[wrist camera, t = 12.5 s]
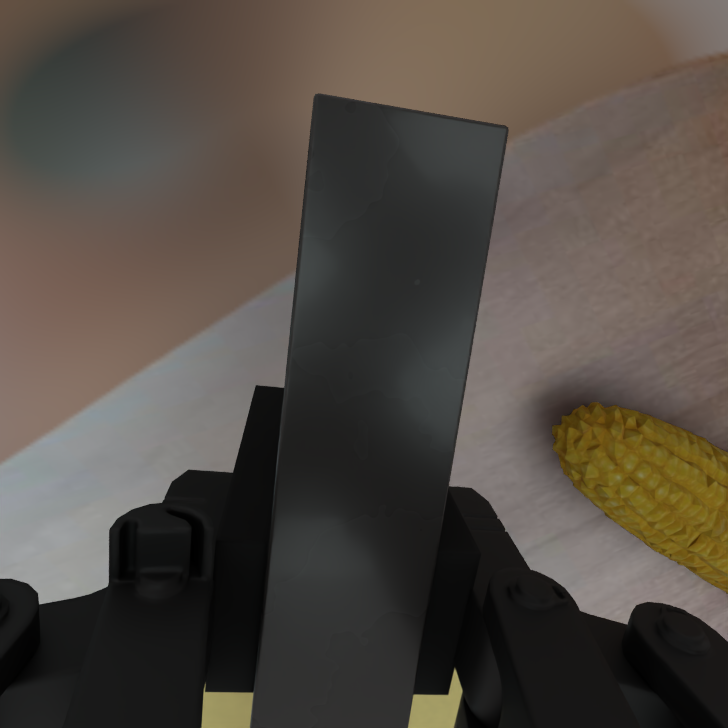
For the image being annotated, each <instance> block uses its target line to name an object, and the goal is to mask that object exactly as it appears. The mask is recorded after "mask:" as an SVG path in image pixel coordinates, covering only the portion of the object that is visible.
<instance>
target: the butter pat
mask: <svg viewBox="0 0 728 728" xmlns="http://www.w3.org/2000/svg"><path fill="white" fill-rule="evenodd" d="M205 683H206V682H205ZM252 701H253V693H235V692H205V687H204V695H203V711H202V727H201V728H250V721H251V711H252Z"/></svg>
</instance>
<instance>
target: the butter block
mask: <svg viewBox="0 0 728 728" xmlns="http://www.w3.org/2000/svg"><path fill="white" fill-rule="evenodd" d="M461 695H462V687H461V684H460V681H459V678H458V675H457V672H456V669H454V673H453V677H452V681H451V686H450V690H449V694H448V695H413V701H412V707H411V713H410V719H409V725H408V728H454V724H455V720H456V716H457V712H458V708H459V704H460V699H461Z"/></svg>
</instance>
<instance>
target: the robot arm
mask: <svg viewBox="0 0 728 728" xmlns="http://www.w3.org/2000/svg"><path fill="white" fill-rule="evenodd" d="M283 396H284V388H279V387H268V386H258V385H256V387H255V391H254V394H253V398H252V402H251V406H250V410H249V414H248V417H247V421H246V425H245V429H244V433H243V437H242V440H241V444H240V448H239V452H238V456H237V460H236V464H235V467H234V471H233V473H228V472H214V471H200V470H188V471H186V472H185V473H183V474H182V475H181V476H179V477H178V478H177V479H175V480H174V481H172V483H171V485H170V487H169V489H168V491H167V494H166V496H165V500H163V502H162V503H157V504H149V505H146V506H142V507H139V508H136V509H133V510H131V511H129V512H127V513H126V514H124V515H123V516H121V517H119V518H118V519H117V520H116V521H115V523H114V524H113V526H112V527H111V528H110V530H109V584H108V587H106V588H104V589H102V590H99V591H97V592H94V593H92V594H89V595H85V596H81V597H77V598H73V599H67V600H62V601H56V602H51V603H45V604H40V605H39V601H38V593H37V592H36V591H35V590H34V589H33V588H32V587H31V586H30V585H29V584H27V583H24V582H20V581H17V580H13V579H0V728H201V727H202V711H203V695H204V687H205V692H235V693H253V691H254V682H255V672H256V662H257V652H258V642H259V632H260V622H261V613H262V603H263V593H264V583H265V573H266V563H267V554H268V544H269V534H270V524H271V514H272V504H273V494H274V485H275V475H276V465H277V455H278V445H279V435H280V425H281V416H282V406H283ZM454 669H456V672H457V675H458V678H459V681H460V684H461V687H462V695H461V699H460V704H459V708H458V712H457V716H456V720H455V724H454V728H728V642H727V641H726V640H725V639H724V638H723V637H722V636H721V635H720V634H719V633H718V632H716V631H715V630H714V629H712V628H711V627H710V626H708V625H707V624H706V623H705V622H703V621H702V620H701V619H699V618H697V617H695V616H693V615H691V614H689V613H688V612H686V611H685V610H682V609H680V608H677V607H673V606H671V605H666V604H663V603H653V602H646V603H643V604H639V605H636V607H635V608H634V610H633V611H632V613H631V616H630V619H629V622H628V625H626V624H623V623H619V622H615V621H612V620H608V619H605V618H601V617H597V616H594V615H590V614H587V613H584V612H581V611H580V610H579V608H578V606H577V604H576V602H575V601H574V599H573V598H572V597H571V595H570V594H569V593H568V591H567V590H566V589H565V588H564V587H562V586H561V585H560V584H558V583H557V582H556V581H554V580H553V579H551V578H549V577H547V576H545V575H543V574H541V573H539V572H537V571H533V570H530V568H529V567H528V565H527V563H526V562H525V560H524V558H523V557H522V555H521V554H520V552H519V550H518V549H517V547H516V545H515V544H514V542H513V541H512V539H511V537H510V536H509V534H508V532H505V528H504V526H503V524H502V523H501V521H500V519H497V515H496V513H495V511H494V510H493V508H492V506H491V505H490V503H489V502H488V501H487V500H486V499H485V498H484V497H482V496H481V495H480V494H478V493H477V492H476V491H475V490H473V489H472V488H465V487H451V486H449V487H448V493H447V499H446V505H445V511H444V517H443V523H442V529H441V535H440V541H439V547H438V553H437V558H436V564H435V570H434V576H433V582H432V588H431V594H430V600H429V606H428V612H427V618H426V624H425V630H424V636H423V642H422V648H421V654H420V659H419V665H418V671H417V677H416V683H415V689H414V695H448V694H449V690H450V686H451V681H452V677H453V673H454ZM205 682H206V683H205Z"/></svg>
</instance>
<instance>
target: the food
mask: <svg viewBox="0 0 728 728" xmlns="http://www.w3.org/2000/svg"><path fill="white" fill-rule="evenodd" d="M552 435H553V436H554V438H555V442H554V444H553V450H554V451H555V452H556V453H558V456H559V460H560V464H561V468H562V469H563V472H564V474H565V475H567V476H568V477H569V478H570V479H571V481H572V482H573V486H574V487H575V488H577V489H578V490H579V491H580V492H581V493H582V494H583V495H584V496H585V497H586V498H589V499H590V500H591V502H592V503H593V504H594V505H596V506H597V507H598V508H600V509H601V510H602V511H604V513H605V515H606V516H607V517H609V518H610V519H612V520H613V521H614V522H616V523H617V524H619V525H620V526H621V527H623V528H624V529H626V530H627V531H629V532H630V533H632V534H633V535H635V536H636V537H637V538H639V539H640V540H642V541H643V542H644V543H645V544H646V545H648V546H649V547H650V548H652V549H653V550H655V551H656V552H659V553H660V554H662V555H664V556H666V557H668V558H669V559H670V560H673V561H677V563H678V564H679V565H684V566H685V567H687V568H688V569H689V570H690V571H692V572H693V573H695V574H696V575H698V576H699V577H700V578H702V579H703V580H705V581H707V582H708V583H711V584H712V585H714V586H716V587H718V588H720V589H721V590H723V591H725V592H726V593H727V594H728V452H726V451H723V450H721V449H719V448H718V447H715V446H714V445H712V444H711V443H710V442H708V441H707V440H706V439H705V438H702V437H699V436H697V435H694V434H693V433H691V432H689V431H687V430H684V429H682V428H680V427H677V426H674V425H671V424H669V423H666V422H664V421H662V420H659V419H657V418H654V417H652V416H651V415H647V414H643V413H639V412H638V411H634V410H630V409H626V408H621V407H618V406H617V405H614V406H611V407H607V408H604V407H603V406H602V405H601V404H600V403H598V402H591V403H590V405H589V406H588V407H587V408H586V407H585V406H583V405H582V406H580V407H579V408H577V409H573V412H572V413H571V414H570V415H567V416H562V422H561V425H552Z"/></svg>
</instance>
